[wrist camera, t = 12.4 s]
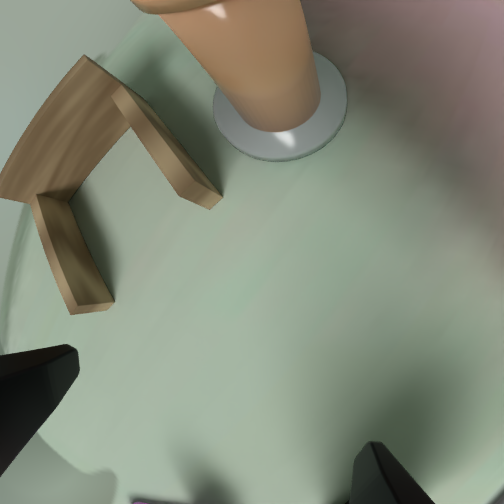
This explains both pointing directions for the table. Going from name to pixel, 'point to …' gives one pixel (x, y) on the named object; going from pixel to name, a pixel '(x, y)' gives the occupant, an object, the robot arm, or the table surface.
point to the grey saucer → (294, 140)
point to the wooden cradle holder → (88, 169)
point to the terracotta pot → (250, 55)
